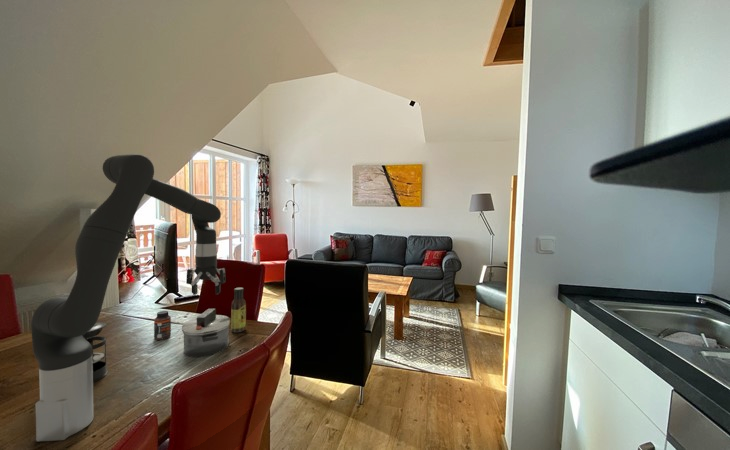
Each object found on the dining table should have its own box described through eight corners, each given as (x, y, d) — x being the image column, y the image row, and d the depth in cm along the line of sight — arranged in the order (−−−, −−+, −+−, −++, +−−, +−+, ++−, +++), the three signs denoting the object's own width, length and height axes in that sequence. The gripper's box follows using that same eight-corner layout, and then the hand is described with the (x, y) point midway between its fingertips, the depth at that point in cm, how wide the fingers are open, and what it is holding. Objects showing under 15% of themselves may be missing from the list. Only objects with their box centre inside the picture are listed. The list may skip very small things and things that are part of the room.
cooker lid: (219, 333, 106) (219, 320, 106) (172, 334, 105) (172, 321, 105) (235, 317, 123) (235, 305, 123) (195, 317, 122) (195, 306, 122)
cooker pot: (234, 352, 110) (234, 330, 110) (184, 365, 101) (183, 340, 100) (225, 332, 128) (225, 313, 128) (181, 341, 119) (181, 320, 118)
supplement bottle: (162, 341, 119) (161, 315, 118) (150, 339, 120) (150, 313, 119) (174, 335, 125) (174, 310, 124) (163, 334, 126) (162, 309, 125)
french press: (111, 366, 99) (110, 302, 98) (109, 378, 92) (108, 309, 91) (62, 378, 92) (61, 309, 91) (56, 392, 84) (54, 317, 84)
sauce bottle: (243, 333, 128) (243, 290, 128) (229, 333, 127) (229, 290, 127) (247, 327, 135) (247, 286, 134) (233, 327, 134) (233, 286, 133)
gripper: (182, 255, 108) (182, 297, 109) (220, 256, 110) (220, 296, 110) (192, 253, 116) (192, 291, 117) (228, 253, 117) (228, 291, 118)
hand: (206, 294), depth 113 cm, fingers open, 8 cm apart
